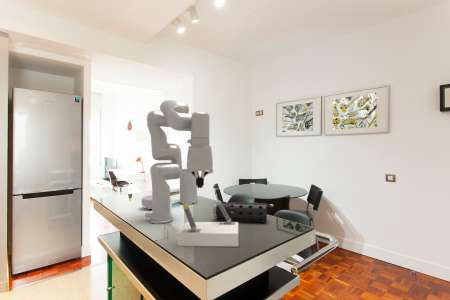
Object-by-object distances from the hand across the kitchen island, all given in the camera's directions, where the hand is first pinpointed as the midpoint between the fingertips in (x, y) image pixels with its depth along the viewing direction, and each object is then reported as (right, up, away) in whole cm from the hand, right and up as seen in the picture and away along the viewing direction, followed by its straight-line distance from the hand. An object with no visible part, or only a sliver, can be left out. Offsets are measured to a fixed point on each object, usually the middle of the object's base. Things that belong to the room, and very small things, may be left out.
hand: (199, 187), depth 100 cm
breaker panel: (+4, -23, +4) cm, 23 cm away
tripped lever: (-2, -16, -1) cm, 17 cm away
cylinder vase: (-17, -24, +81) cm, 86 cm away
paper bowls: (-38, -24, +64) cm, 78 cm away
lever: (+12, -16, +10) cm, 23 cm away
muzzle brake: (+18, -23, +31) cm, 43 cm away
